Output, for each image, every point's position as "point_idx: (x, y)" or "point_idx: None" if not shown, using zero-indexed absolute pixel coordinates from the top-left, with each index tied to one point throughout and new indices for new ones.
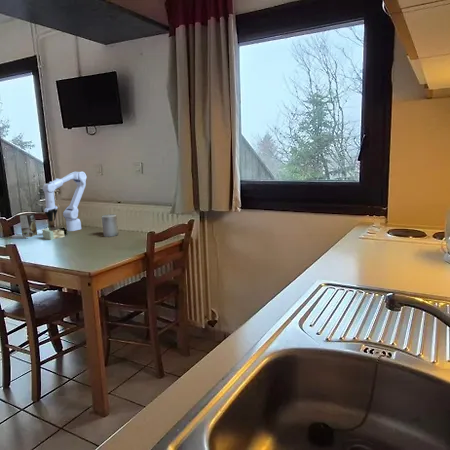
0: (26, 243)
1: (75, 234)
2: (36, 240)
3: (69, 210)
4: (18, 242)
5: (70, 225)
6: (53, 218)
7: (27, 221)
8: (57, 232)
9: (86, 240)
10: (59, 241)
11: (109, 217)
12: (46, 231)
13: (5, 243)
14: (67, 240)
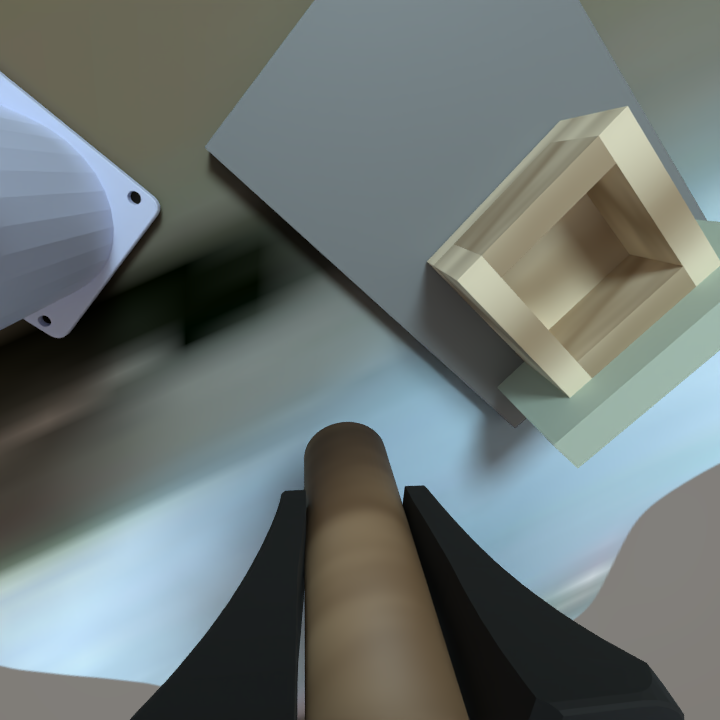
0: (644, 467)
1: (271, 39)
2: (543, 443)
3: None
4: (573, 550)
5: (46, 203)
6: (383, 521)
7: None
8: (678, 198)
9: None
10: (708, 127)
11: None
12: (694, 361)
13: (573, 617)
14: (698, 11)
